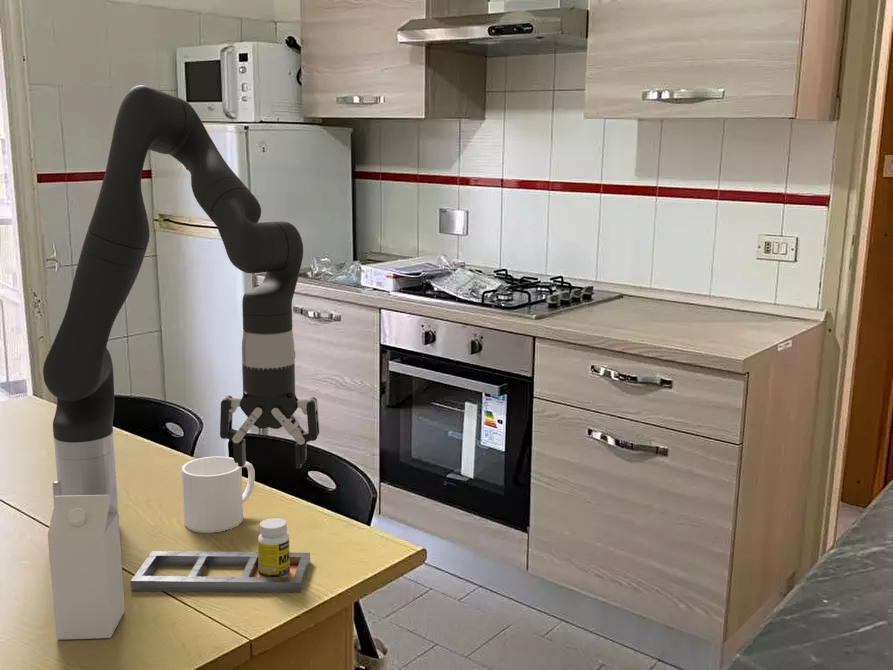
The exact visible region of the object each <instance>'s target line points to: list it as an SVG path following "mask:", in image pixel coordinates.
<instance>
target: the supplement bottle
mask: <svg viewBox="0 0 893 670" xmlns="http://www.w3.org/2000/svg"><path fill="white" fill-rule="evenodd" d="M287 525H288V524H287V521H286V520H285V519H283V518H278V517H277V518H276V517H275V518H274V517H273V518H267V519H263V520H262V521H261V522H260V523H259V532H260V533H259V535H258V538H257V552H258V567H259V576H260V577H287V576H288V575H289V573H290V536H289V533H288V528H287ZM258 567H257V568H258Z"/></svg>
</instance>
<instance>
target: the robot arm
mask: <svg viewBox="0 0 893 670" xmlns="http://www.w3.org/2000/svg"><path fill="white" fill-rule="evenodd" d="M110 142H111V143H110V146H109V153H108V159H107V163H106V167H105V170H104V171H105V172H104V176H103V180H102V182H101V188H100V190H99V194H98V196H97V197H98V198H97V201H96V204H95V206H94V207H95V208H94V209H93V210H94V211H93V214H92V216H91V219H90V223H89V224H88V228H87V231H86V234H85V237H84V240H83V244H82V247H81V250H80V254H79V258H78V261H77V265H76V270H75V273H74V277H73V281H72V284H71V290H70V294H69V299H68V302H67V307H66V310H65V313H64V317H63V319H62V322H61V324H60V326H59V328H58V330H57V333H56V336H55V338H54V341H53V342H52V345H51V347H50V349H49V351H48V354H47V356H46V357H45V360H44V364H43V367H42V375H43V381H44V384H45V387H46V388H47V390H48V391H49V393H51V394H52V395H53V396H54V397H55V398H56V409H55V414H54V418H53V420H52V434H53V441H54V443H53V444H54V454H55V455H54V457H55V468H56V479H55V481H54V482H52V496H53V497H52V498H53V499H54V496H70V495H110V503H111V504H112V505H113V507H114V508H115V509H116V510H117V512H118V516H119V517H120V513H119V500H118V499H119V498H118V484H117V472H116V470H117V468H116V453H115V441H114V440H115V439H114V424H113V423H114V422H113V421H114V415H115V407H116V406H115V380H114V366H113V359H112V356H111V353H110V351H109V350H108V348H107V346H108V342H109V338H110V334H111V331H112V328H113V325H114V323H115V321H116V319H117V316H118V315H119V313H120V311H121V309H122V307H123V305H124V304H125V302H126V301H127V298H128V296H129V295H130V292H131V290H132V288H133V286H134V284H135V281H136V280H137V278H138V275H139V272H140V270H141V267H142V264H143V261H144V258H145V256H146V252H147V248H148V246H149V245H148V244H149V242H150V231H151V230H150V224H149V217H148V213H147V210H146V206H145V202H144V198H143V193H142V191H143V190H142V175H143V170H144V167H145V162H146V159H147V155H148V152H149V151H152V152H155V153H159V154H163V155H169V156H171V157H173V158H174V159H175V160H177V161H178V162H179V163H180V164H182V165H183V166H184V167H185V168H186V169H187V170H188V172H189V173H190V182H191V183H190V185H191V186H190V187H191V190H192V193H193V196H194V198H195V200H196V202H197V203H198V205H199V207H200V208H201V209H202V210H203V211H204V213H205V214H206V215H207V216H208V217H209V220H211V221H212V222H213V224H214V225H215V226H216V228H217V230H218V232H219V235H220V237H221V240H222V242H223V243H222V244H223V246H224V248H225V251H226V255H227V258H228V259H229V261H230V263H231V264H232V265H233V266H234V267H235V268H236V269H238V270H239V271H241V272H242V273H245V274H261V273H265V275H264V279H263V281H262V283H261V284H260V285H258V286H256V287H253V288H251V289H249V290H247V291H246V292H245V293H244V294H243V295H242V301H241V303H242V304H241V305H242V307H241V308H242V309H241V310H242V340H241V369H242V370H241V372H242V374H241V375H242V377H241V378H242V397H241V398H236V397H233V396H232V395H226V396H225V397H223V399H222V400H221V402H220V420H219V421H220V423H219V437H220V438H221V439H222V440H225V439H227V440H229V441H231V442H232V445H233V447H232V449H233V458H234V461H235V463H238V467H243V466H244V465H245V463H246V461H247V455H246V454H247V451H246V438H244V437H245V436H246V435H247V433H248V432H249V430H250V429H251V428H252V427H253V426H255V427H257V429H267V428H270V429H274V430H276V429H277V430H279V429H281V428H284V430H285V431H286V432H287V433H288V435H291V437H292V438H293V439H294V441H295V442H296V443H295V445H294V446H295V447H294V449H295V450H294V453H295V469H301V468H302V466H303V465H305V463H306V461H307V459H308V454H307V453H308V450H307V447H308V446H307V445H308V442H311V441H312V442H315V441H317V439H318V436H319V435H320V423H319V422H320V421H319V412H318V411H319V409H318V400H317V398H316V397H310V398H309V399H298V397H297V395H296V372H295V371H296V369H295V368H296V367H295V364H296V362H295V360H296V351H295V341H294V340H295V339H294V334H293V333H294V332H293V299H294V295H295V291H296V287H297V283H298V281H299V280H298V279H299V275H300V271H301V267H302V265H303V264H302V263H303V258H304V243H303V240H302V237H301V234H300V231H299V230H298V229H297V227H296V226H294V224H292V223H290V222H288V221H282V220H281V221H266V222H265V221H264V222H259V220H260V219H261V217H262V215H261V214H262V208H261V207H262V206H261V205H260V202H259V200H258V199H257V197H255V195H254V194H253V193H252V191H250V189H249V188H248V187H247V186H246V185H245V183H244V182H243V181H242V179H240V178H239V177H238V175H237V174H236V173H235V172H234V171H233V170H232V169H231V167H230V166H229V164H228V163H227V162H226V160H225V159H224V158H223V156H222V155H221V153H220V151H219V149H218V148H217V146H216V145H215V143H214V141H213V139H212V138H211V136H210V134H209V132H208V131H207V128H206V126H205V125H204V123H203V121H202V120H201V118H200V117H199V115H198V113H197V111H196V110H195V109H194V108H193V106H192V105H191V104H190V103H189V102H187V101H186V100H185V99H183V98H180V97H178V96H176V95H173V94H170V93H167V92H164V91H162V90H159V89H156V88H154V87H150V86H149V85H147V86H146V85H142V84H140V85H136V86H134V87H132V88H130V90H129V91H128V92H127V93H126V94H125V96H124V98H123V99H122V101H121V104H120V106H119V109H118V112H117V115H116V119H115V123H114V127H113V133H112V138H111V141H110ZM239 407H240V409H241V411H243V413H244V414H245V416H246V417H247V418H246V419H245V420H244V421H243V423H242V424H241V426H240V427H239V429H238V430H236V429H234V428H233V414H235V413H236V411H237V409H238V408H239ZM297 409H301V412H302V414H303V415H305V416H306V417H307V428H308V429H307V430H306V431H305V429H304V428H303V426H301V424H300V422H299V420H298V419H297V418H296V416H295V415H294V414H295V413H296V411H297ZM243 468H244V467H243ZM54 505H55V502H54V501H53V506H54Z"/></svg>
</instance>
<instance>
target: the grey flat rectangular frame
mask: <svg viewBox="0 0 893 670" xmlns="http://www.w3.org/2000/svg"><path fill="white" fill-rule="evenodd" d="M289 552H290V551H289ZM310 564H311V552H293V551H292V552H290V566H298V567H297V570H296V573H295V576H294V577H254V576H255V574H256V572H257V569H258V551H193V550H191V551H187V550H186V551H185V550H184V551H182V550H181V551H178V550H176V551H175V550H173V551H172V550H170V551H169V550H151V551H150V553H149V554H148V556H147V558H146V559H145V560H144V561H143V563H142V564H141V566H140V567H139V568H138V570H137V571H136V573H134V575H133V577H132V578H131V579H130V591H131V592H197V593H198V592H204V593H207V592H208V593H209V592H210V593H212V592H214V593H216V592H217V593H218V592H220V593H301V592H302V589H303V586H304V583H305V580H306V577H307V574H308V570H309V568H310ZM157 566H193V567H192V569H191V570H190V572H189V574H188V576H187V575H186V576H185V575H184V576H183V575H181V576H180V575H152V573H153V572H154V570H155V569H156V568H157ZM208 566H209V567H211V566H212V567H215V566H217V567H220V566H221V567H224V566H225V567H230V566H231V567H244V570H243V572H242V574H241V575H240V576H203V574H204V573H205V571H206V569H207V568H208ZM308 567H309V568H308ZM254 573H255V574H254Z"/></svg>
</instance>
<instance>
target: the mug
mask: <svg viewBox="0 0 893 670" xmlns="http://www.w3.org/2000/svg"><path fill="white" fill-rule="evenodd" d="M242 468H246V469H247V475H248V477H247V484H246V487H245V490H244V492H243V475H242V474H243V473H242ZM255 474H256V473H255V468H254V466H253V464H252V463H250V462H249V461H247V460H246V463H245V465H244V466H243V467H238V463H235V461H234V457H230V456H229V457H228V456H220V455H219V456H218V455H217V456H207V457H200V458H195V459H193V460H190V461H188V462H186V463H184V464H183V465H182V467H181V482H182V483H181V484H182V499H183V500H182V502H183V503H182V505H183V521H184V522H183V523H184V525H185V526H184V527H186V528H187V529H188V530H189V531H192V532H195V533H200V534H215V533H214V532H218V533H222V532H221V531H224V532H226V531H225V530H227V531H230V530H233V529H235V528H237V527H239V524H241V523H242V522H243V521H244V505H243V504H244V502H246V501H247V500H248V499H249V498H250V496H251V494H253V489H254V486H255V481H256V477H255V476H256V475H255ZM236 526H237V527H236ZM234 527H235V528H234ZM232 528H233V529H232ZM229 529H230V530H229Z"/></svg>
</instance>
